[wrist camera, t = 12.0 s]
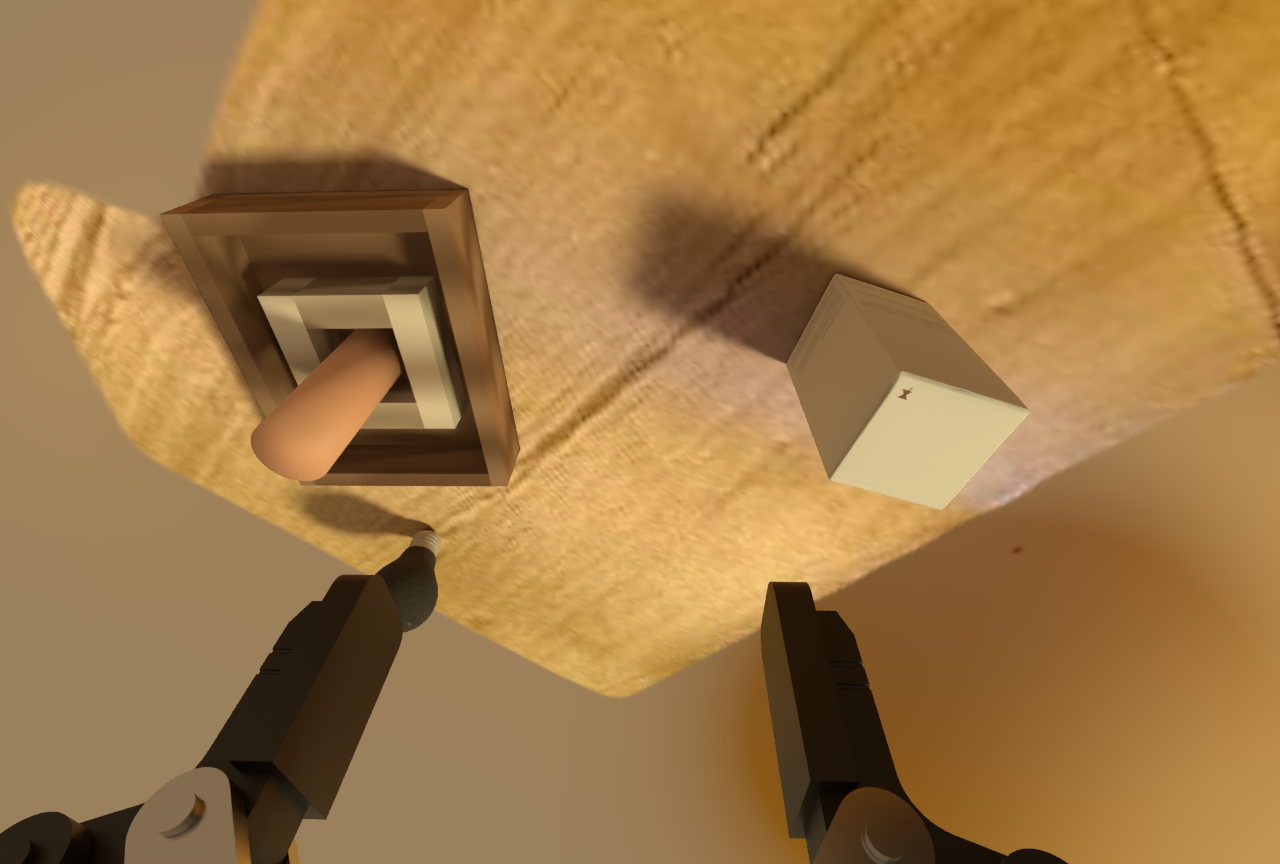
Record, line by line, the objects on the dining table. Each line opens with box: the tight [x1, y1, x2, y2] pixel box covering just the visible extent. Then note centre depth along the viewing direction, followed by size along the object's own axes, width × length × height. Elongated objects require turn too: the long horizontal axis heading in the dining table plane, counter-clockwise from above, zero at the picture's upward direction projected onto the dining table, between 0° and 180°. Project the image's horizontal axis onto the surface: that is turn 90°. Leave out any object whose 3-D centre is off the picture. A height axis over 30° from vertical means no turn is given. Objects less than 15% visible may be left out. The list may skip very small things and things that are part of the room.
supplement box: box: [787, 273, 1030, 510], centre depth 33 cm, size 7×7×13 cm
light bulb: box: [375, 530, 441, 632], centre depth 48 cm, size 6×6×10 cm
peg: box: [251, 328, 405, 481], centre depth 34 cm, size 4×4×12 cm
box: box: [160, 189, 520, 486], centre depth 38 cm, size 20×16×4 cm
